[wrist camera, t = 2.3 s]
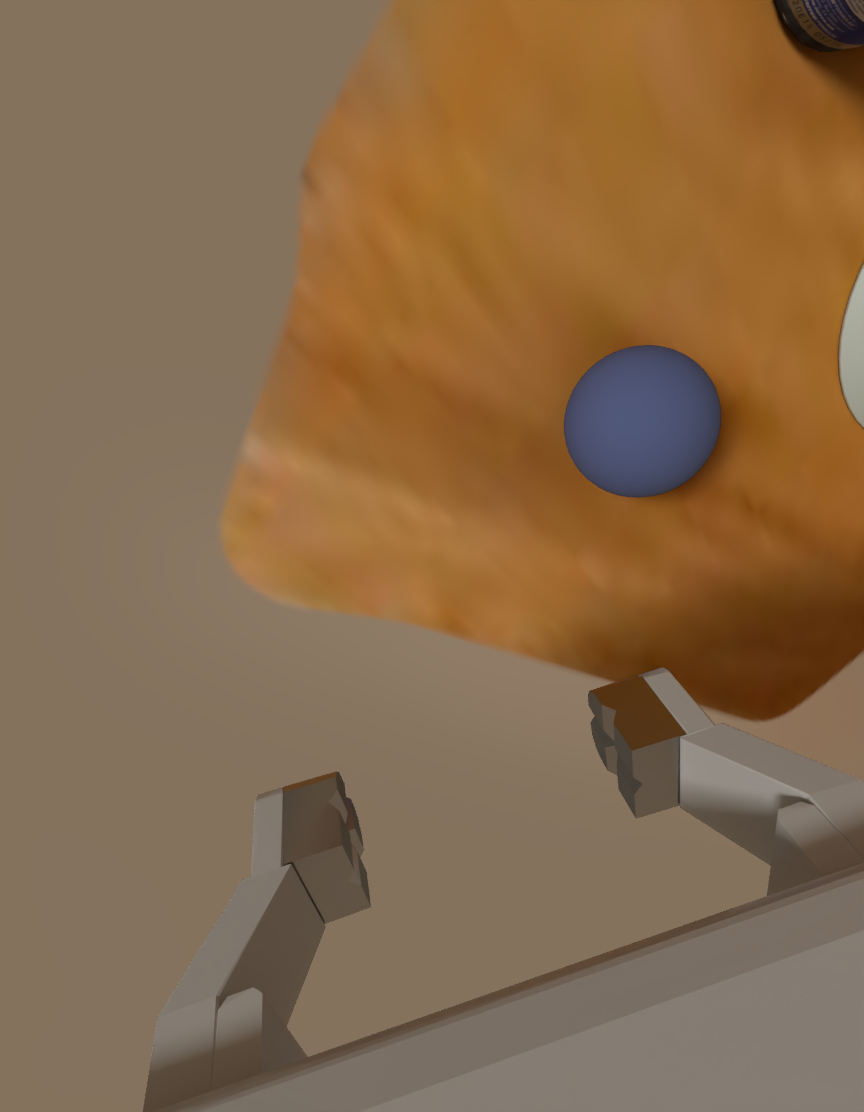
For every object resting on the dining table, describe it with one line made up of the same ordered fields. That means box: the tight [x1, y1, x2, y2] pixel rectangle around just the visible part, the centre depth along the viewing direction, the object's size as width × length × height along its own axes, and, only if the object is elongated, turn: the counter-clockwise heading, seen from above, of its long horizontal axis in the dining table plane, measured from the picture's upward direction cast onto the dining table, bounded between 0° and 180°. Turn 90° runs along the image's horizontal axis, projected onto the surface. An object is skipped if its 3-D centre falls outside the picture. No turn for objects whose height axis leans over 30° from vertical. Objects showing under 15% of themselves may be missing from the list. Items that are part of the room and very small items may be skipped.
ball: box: [564, 345, 721, 497], centre depth 23 cm, size 6×6×6 cm
